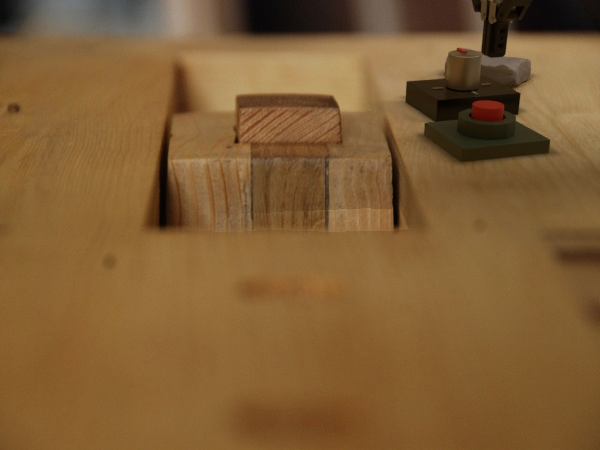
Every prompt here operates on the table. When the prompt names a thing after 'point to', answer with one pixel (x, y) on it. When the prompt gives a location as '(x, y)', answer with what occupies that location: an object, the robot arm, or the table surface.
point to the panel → (457, 97)
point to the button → (487, 110)
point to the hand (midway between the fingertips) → (493, 55)
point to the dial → (463, 70)
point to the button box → (485, 137)
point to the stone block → (503, 69)
